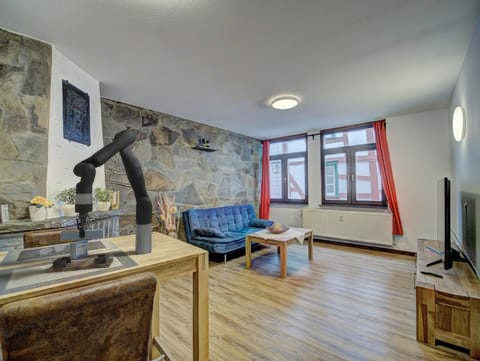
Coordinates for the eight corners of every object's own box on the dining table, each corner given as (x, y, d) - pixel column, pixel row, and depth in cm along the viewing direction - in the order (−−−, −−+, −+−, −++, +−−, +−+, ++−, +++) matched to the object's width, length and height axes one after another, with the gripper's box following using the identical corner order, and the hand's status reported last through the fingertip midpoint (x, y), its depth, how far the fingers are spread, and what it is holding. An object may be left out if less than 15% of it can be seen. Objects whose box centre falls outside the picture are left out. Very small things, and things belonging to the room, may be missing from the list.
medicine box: (75, 259, 126) (76, 243, 126) (69, 258, 126) (69, 243, 127) (88, 255, 133) (88, 240, 133) (81, 254, 134) (81, 239, 134)
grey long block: (104, 236, 120) (104, 228, 120) (102, 238, 116) (102, 230, 116) (63, 239, 114) (63, 230, 114) (60, 240, 110) (60, 232, 111)
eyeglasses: (66, 250, 143) (66, 244, 143) (72, 253, 139) (72, 247, 139) (38, 256, 131) (38, 249, 131) (44, 260, 127) (44, 252, 127)
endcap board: (113, 260, 124) (113, 252, 124) (109, 267, 114) (109, 258, 114) (55, 265, 116) (56, 256, 116) (46, 273, 106) (46, 263, 106)
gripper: (88, 203, 110) (87, 239, 110) (96, 201, 123) (95, 233, 123) (69, 204, 108) (69, 240, 107) (80, 201, 121) (79, 234, 121)
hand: (83, 236), depth 115 cm, fingers closed on grey long block, 3 cm apart
